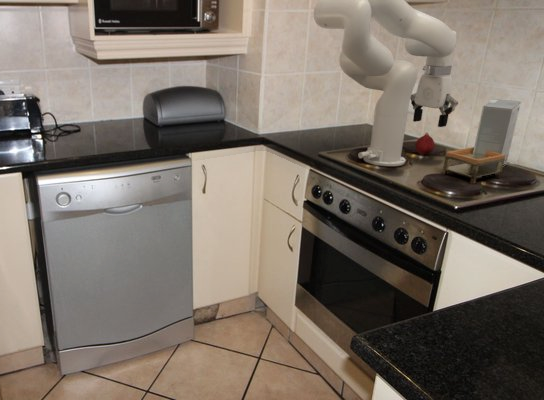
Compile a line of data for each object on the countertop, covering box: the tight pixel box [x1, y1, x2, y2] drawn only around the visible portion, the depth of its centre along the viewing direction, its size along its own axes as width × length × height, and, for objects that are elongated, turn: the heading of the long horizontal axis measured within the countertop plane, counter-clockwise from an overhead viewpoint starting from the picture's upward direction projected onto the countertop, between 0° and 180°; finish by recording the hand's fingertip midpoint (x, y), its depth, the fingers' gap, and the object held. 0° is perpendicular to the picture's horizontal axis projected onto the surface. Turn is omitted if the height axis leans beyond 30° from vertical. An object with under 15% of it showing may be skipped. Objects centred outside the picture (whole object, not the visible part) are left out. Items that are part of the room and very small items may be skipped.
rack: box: [441, 146, 506, 185], centre depth 141 cm, size 12×10×7 cm
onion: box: [414, 132, 435, 156], centre depth 161 cm, size 6×6×8 cm
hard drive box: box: [473, 98, 522, 176], centre depth 146 cm, size 16×8×20 cm, turn 139°
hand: (429, 123), depth 159 cm, fingers open, 9 cm apart
